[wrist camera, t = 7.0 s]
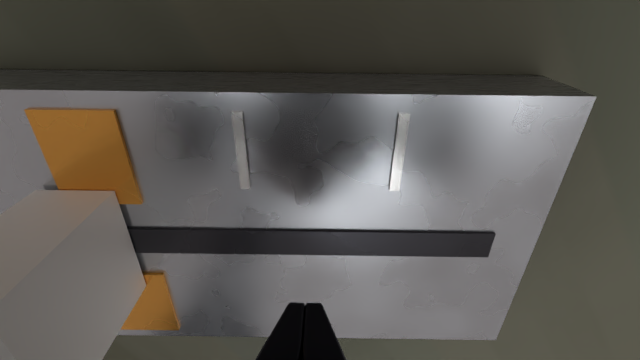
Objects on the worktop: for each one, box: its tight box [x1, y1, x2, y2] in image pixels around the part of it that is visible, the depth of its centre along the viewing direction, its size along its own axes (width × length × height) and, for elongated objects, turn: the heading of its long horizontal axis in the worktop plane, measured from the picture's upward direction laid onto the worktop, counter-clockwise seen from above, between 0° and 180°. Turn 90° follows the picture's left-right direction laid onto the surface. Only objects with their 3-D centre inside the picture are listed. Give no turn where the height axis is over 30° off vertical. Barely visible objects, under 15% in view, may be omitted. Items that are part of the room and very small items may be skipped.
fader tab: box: [0, 190, 146, 360], centre depth 9 cm, size 4×2×5 cm, turn 179°
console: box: [0, 69, 596, 340], centre depth 12 cm, size 10×18×3 cm, turn 89°
